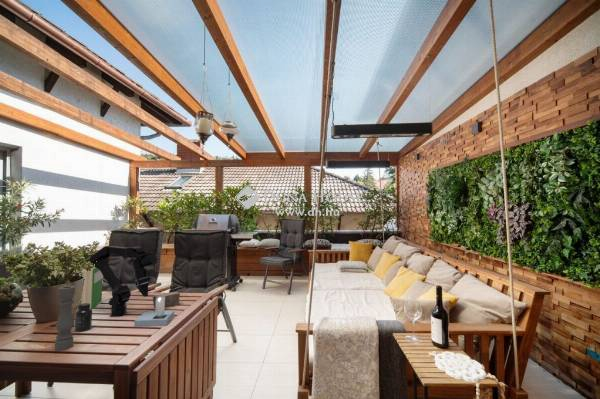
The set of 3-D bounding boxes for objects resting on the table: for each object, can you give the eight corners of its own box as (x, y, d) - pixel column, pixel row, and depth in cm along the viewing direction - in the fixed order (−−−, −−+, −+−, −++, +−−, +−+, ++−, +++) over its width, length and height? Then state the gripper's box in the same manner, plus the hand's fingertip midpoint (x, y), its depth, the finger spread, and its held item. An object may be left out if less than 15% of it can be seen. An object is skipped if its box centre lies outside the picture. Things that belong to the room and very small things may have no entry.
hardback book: (92, 309, 177) (94, 268, 178) (78, 310, 174) (80, 269, 176) (101, 301, 193) (103, 264, 195) (88, 302, 191) (89, 264, 192)
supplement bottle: (94, 327, 148) (95, 303, 148) (80, 332, 141) (82, 307, 142) (85, 326, 150) (86, 301, 151) (70, 330, 144) (72, 305, 144)
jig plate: (134, 326, 149) (134, 320, 149) (145, 316, 164) (146, 311, 164) (165, 325, 151) (166, 319, 151) (174, 315, 166) (174, 310, 166)
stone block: (157, 310, 175) (157, 297, 176) (152, 307, 182) (152, 294, 182) (181, 305, 185) (181, 293, 185) (175, 302, 191) (176, 290, 192)
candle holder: (61, 344, 128) (64, 285, 130) (76, 344, 129) (79, 285, 130) (50, 351, 122) (53, 289, 124) (66, 350, 123) (69, 289, 124)
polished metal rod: (155, 325, 152) (156, 299, 153) (154, 322, 156) (154, 297, 156) (164, 323, 155) (165, 297, 155) (163, 320, 158) (163, 295, 159)
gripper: (157, 263, 163) (164, 291, 161) (153, 265, 178) (159, 291, 176) (134, 269, 157) (141, 298, 155) (132, 271, 172) (138, 298, 170)
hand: (145, 296), depth 164 cm, fingers open, 9 cm apart
